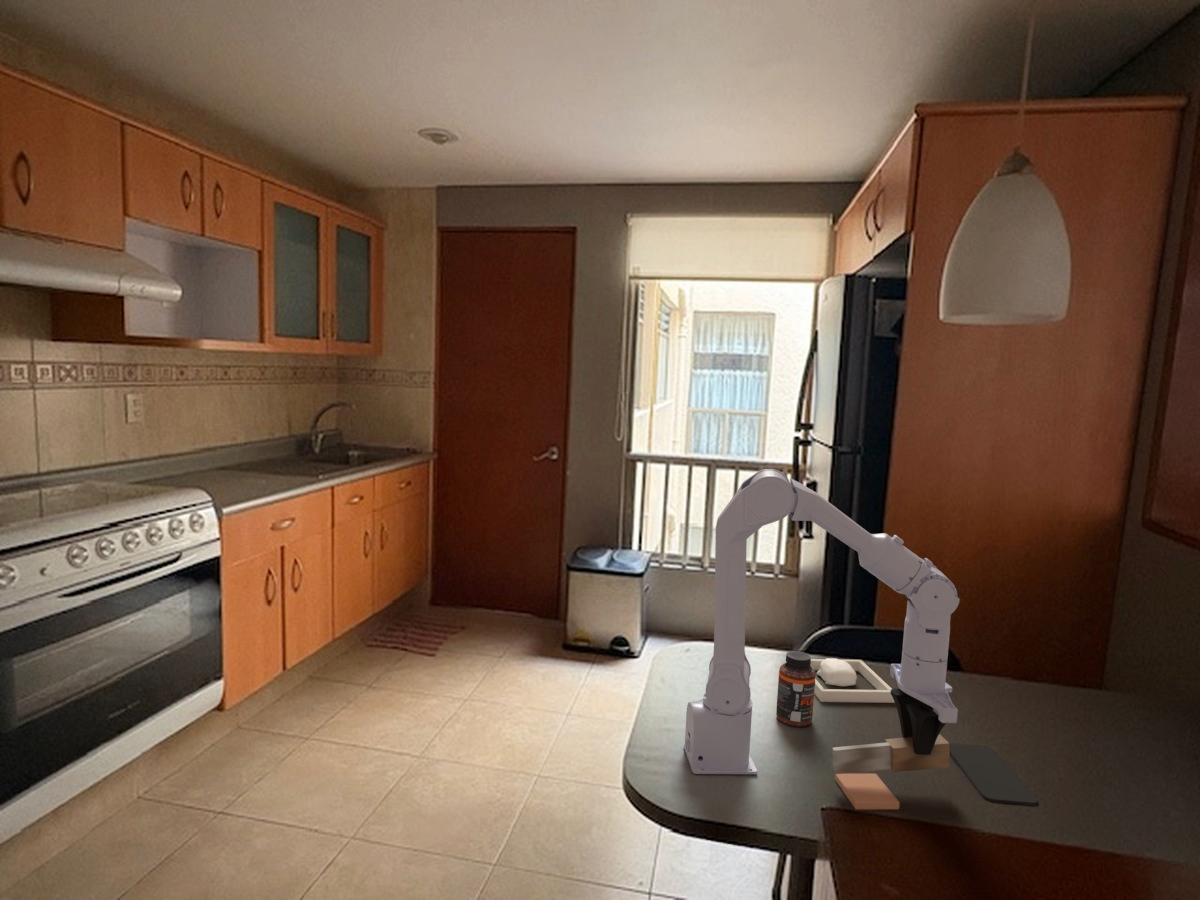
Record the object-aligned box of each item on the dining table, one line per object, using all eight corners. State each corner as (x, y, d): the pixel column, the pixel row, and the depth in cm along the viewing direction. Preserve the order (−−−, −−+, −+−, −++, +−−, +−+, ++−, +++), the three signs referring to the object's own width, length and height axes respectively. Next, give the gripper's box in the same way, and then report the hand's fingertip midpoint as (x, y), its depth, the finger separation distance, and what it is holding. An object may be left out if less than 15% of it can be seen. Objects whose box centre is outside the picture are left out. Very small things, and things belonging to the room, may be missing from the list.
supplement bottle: (804, 732, 114) (809, 665, 112) (770, 720, 117) (774, 655, 116) (817, 718, 118) (821, 654, 117) (784, 708, 122) (788, 645, 121)
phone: (985, 798, 96) (942, 742, 111) (984, 804, 96) (942, 747, 111) (1041, 803, 95) (991, 746, 110) (1040, 809, 95) (990, 751, 110)
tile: (834, 782, 100) (855, 812, 93) (835, 773, 100) (856, 802, 93) (875, 782, 100) (898, 812, 94) (875, 773, 100) (899, 802, 93)
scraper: (837, 777, 96) (836, 753, 96) (830, 767, 99) (829, 744, 98) (949, 766, 97) (949, 743, 97) (940, 757, 100) (939, 734, 99)
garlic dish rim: (821, 701, 125) (821, 691, 125) (794, 668, 139) (794, 658, 139) (894, 702, 126) (895, 692, 125) (860, 669, 140) (861, 659, 140)
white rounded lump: (812, 671, 139) (813, 653, 139) (845, 672, 139) (847, 653, 139) (826, 688, 131) (827, 669, 131) (861, 689, 131) (863, 670, 131)
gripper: (983, 676, 90) (974, 776, 91) (925, 635, 104) (918, 722, 105) (930, 676, 89) (922, 776, 90) (879, 634, 104) (872, 722, 105)
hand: (916, 747), depth 98 cm, fingers closed on scraper, 2 cm apart
